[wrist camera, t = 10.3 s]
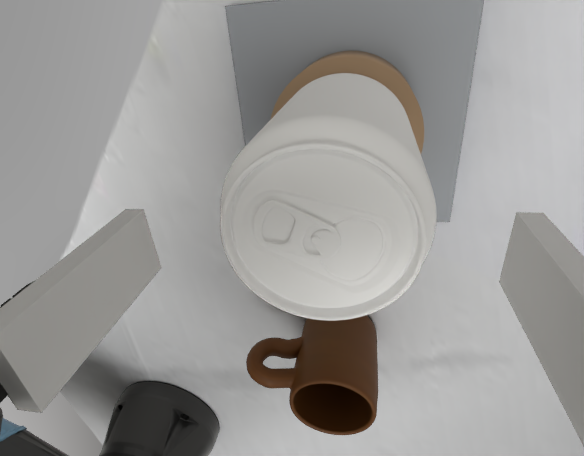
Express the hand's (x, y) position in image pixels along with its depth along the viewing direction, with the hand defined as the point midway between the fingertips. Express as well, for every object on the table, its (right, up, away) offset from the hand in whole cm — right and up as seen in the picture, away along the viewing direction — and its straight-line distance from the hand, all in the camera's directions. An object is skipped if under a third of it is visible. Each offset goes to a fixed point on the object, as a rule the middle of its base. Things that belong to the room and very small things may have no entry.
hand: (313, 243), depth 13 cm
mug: (+2, -9, +25) cm, 27 cm away
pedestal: (+3, +9, +14) cm, 17 cm away
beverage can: (+2, +6, +10) cm, 12 cm away
